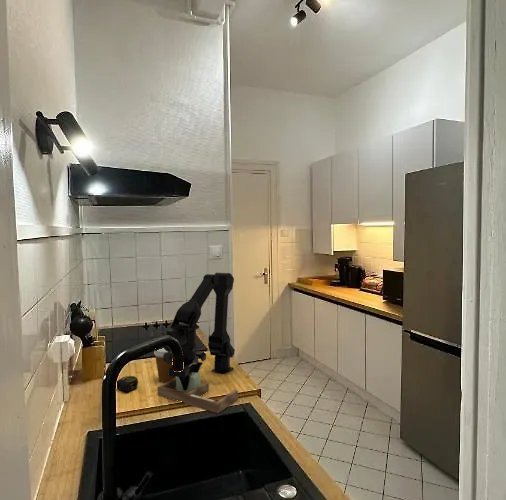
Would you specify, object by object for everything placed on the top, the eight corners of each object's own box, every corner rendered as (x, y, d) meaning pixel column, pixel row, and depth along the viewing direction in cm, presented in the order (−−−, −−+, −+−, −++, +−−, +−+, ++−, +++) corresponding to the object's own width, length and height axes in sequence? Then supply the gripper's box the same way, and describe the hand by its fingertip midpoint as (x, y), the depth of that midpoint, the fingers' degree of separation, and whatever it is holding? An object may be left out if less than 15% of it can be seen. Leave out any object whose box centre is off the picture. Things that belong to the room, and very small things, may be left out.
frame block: (182, 386, 135) (182, 370, 135) (200, 388, 133) (200, 372, 133) (176, 391, 130) (176, 376, 130) (194, 393, 128) (194, 378, 128)
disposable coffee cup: (173, 385, 137) (173, 352, 136) (150, 383, 139) (149, 351, 138) (183, 375, 146) (183, 345, 145) (161, 373, 148) (160, 343, 147)
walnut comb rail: (179, 383, 138) (179, 375, 138) (237, 399, 125) (237, 390, 125) (157, 395, 128) (157, 386, 128) (218, 413, 115) (217, 403, 115)
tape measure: (113, 390, 133) (113, 380, 133) (129, 383, 139) (129, 373, 138) (126, 394, 129) (126, 384, 129) (142, 387, 135) (141, 377, 135)
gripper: (179, 334, 142) (180, 375, 143) (153, 349, 124) (154, 395, 125) (206, 336, 139) (207, 377, 140) (184, 352, 121) (184, 399, 122)
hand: (188, 387), depth 132 cm, fingers closed on frame block, 5 cm apart
